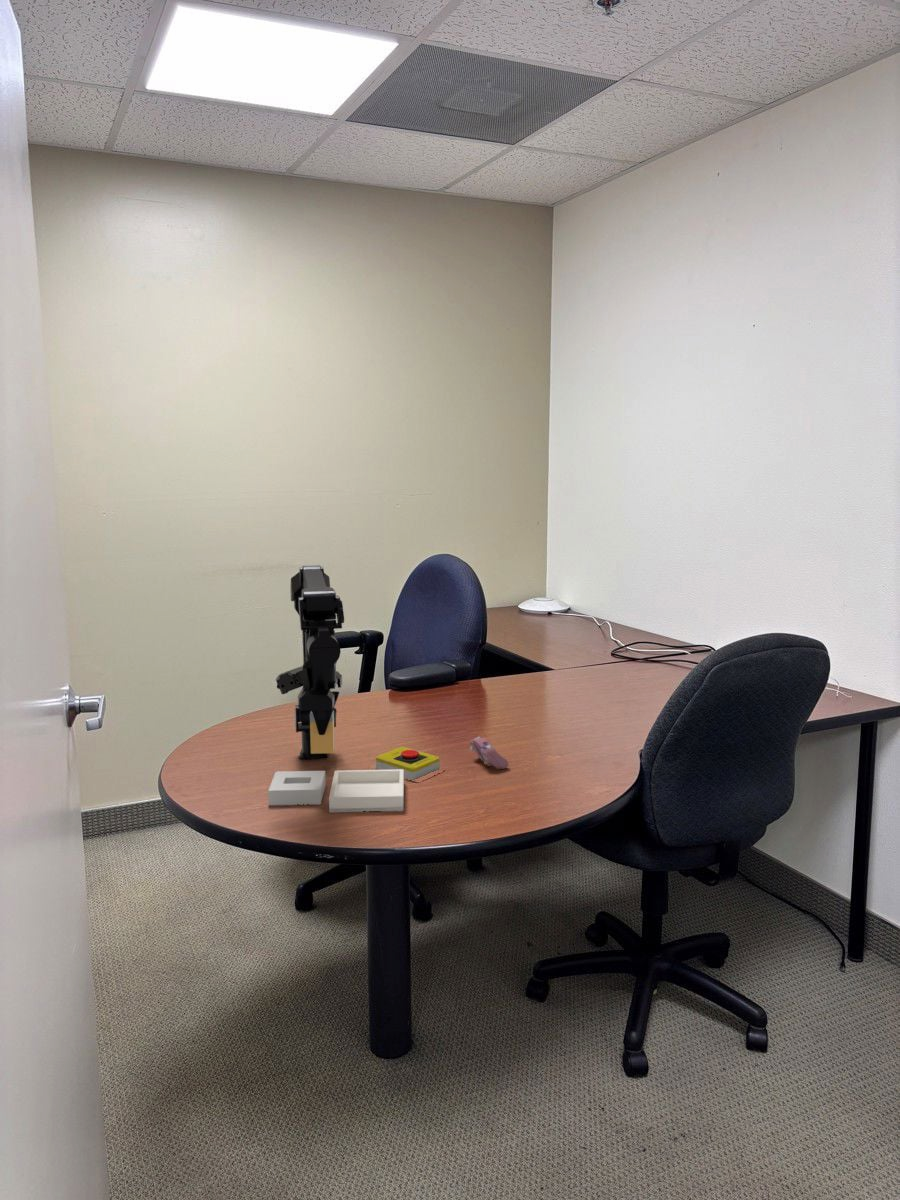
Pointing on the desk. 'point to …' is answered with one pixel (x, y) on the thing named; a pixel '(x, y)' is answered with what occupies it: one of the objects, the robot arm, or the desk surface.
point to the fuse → (322, 737)
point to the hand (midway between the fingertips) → (322, 732)
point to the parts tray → (367, 790)
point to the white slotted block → (297, 788)
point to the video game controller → (488, 753)
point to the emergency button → (408, 762)
